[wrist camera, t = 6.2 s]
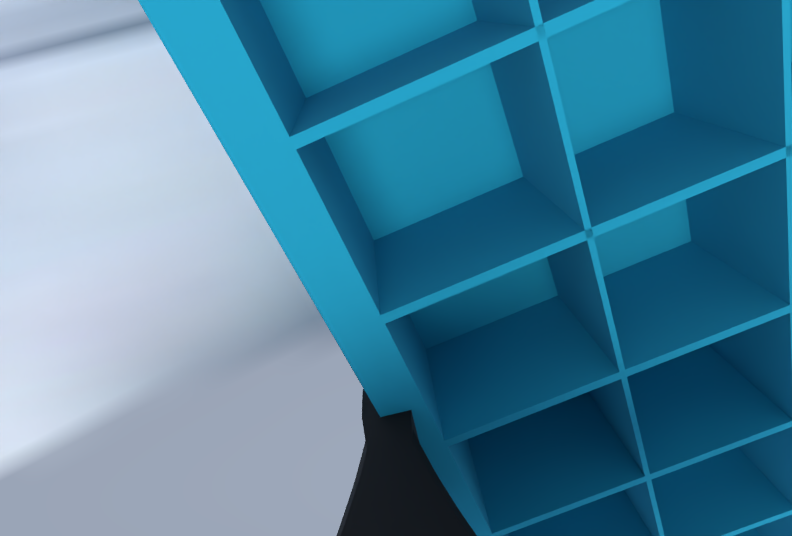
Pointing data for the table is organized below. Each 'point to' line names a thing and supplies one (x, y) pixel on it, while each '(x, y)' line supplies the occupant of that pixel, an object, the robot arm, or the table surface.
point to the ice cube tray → (536, 237)
